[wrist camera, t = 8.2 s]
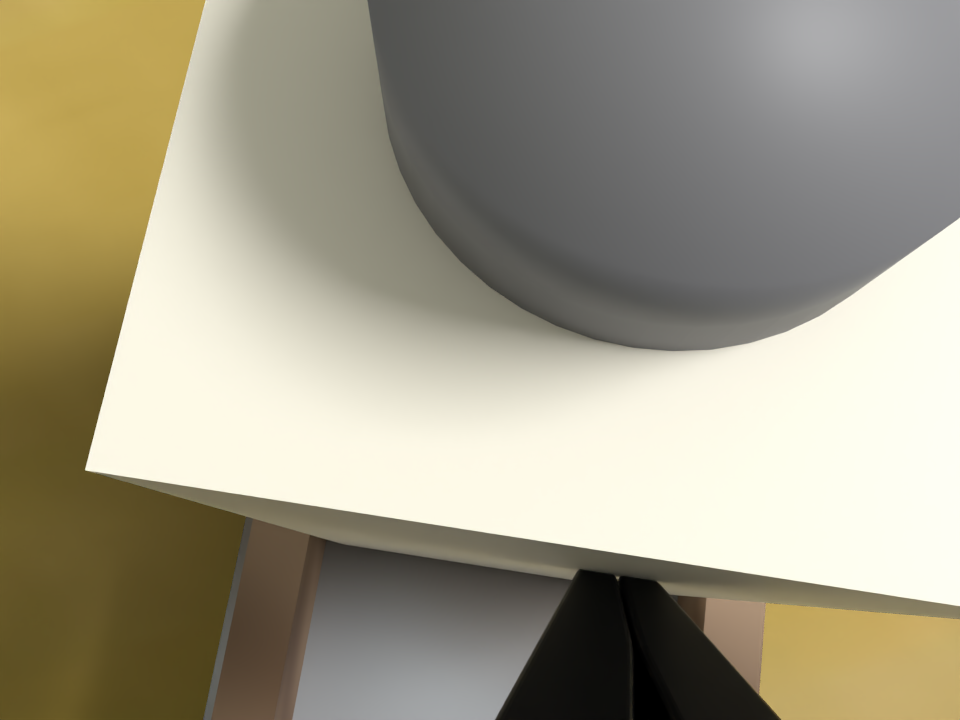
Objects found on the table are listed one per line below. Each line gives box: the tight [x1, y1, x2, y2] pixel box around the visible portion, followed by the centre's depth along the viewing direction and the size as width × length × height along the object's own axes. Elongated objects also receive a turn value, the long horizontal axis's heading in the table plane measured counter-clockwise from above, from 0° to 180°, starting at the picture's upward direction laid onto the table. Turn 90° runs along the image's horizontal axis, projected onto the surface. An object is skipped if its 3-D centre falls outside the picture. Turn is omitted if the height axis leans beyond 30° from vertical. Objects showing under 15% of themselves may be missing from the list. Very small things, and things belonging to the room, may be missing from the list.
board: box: [203, 517, 766, 720], centre depth 17 cm, size 18×10×3 cm, turn 171°
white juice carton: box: [85, 0, 960, 619], centre depth 11 cm, size 6×6×13 cm
